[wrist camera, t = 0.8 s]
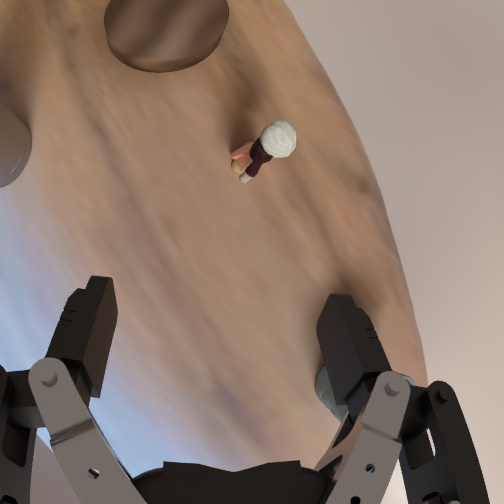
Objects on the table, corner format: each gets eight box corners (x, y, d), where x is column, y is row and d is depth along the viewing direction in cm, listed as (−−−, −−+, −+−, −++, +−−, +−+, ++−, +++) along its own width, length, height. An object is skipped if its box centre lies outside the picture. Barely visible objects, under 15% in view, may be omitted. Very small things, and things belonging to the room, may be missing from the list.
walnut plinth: (84, 53, 30) (79, 37, 26) (146, -20, 31) (147, -37, 27) (190, 89, 35) (194, 75, 31) (240, 11, 36) (247, -4, 32)
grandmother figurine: (241, 129, 37) (278, 87, 25) (269, 142, 38) (315, 107, 26) (218, 185, 36) (247, 161, 24) (247, 197, 38) (289, 181, 25)
